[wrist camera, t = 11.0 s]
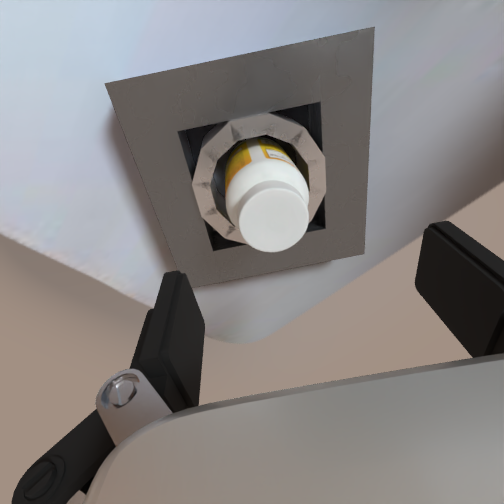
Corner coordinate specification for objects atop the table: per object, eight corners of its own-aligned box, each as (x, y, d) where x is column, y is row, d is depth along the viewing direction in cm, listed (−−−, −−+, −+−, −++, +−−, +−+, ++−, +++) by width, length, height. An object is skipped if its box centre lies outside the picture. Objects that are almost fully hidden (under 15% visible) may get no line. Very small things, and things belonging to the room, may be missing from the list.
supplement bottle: (284, 129, 23) (319, 164, 15) (292, 193, 26) (325, 251, 18) (216, 144, 23) (215, 188, 15) (232, 206, 26) (238, 270, 18)
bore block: (351, 32, 20) (378, 25, 16) (349, 234, 28) (366, 257, 25) (121, 81, 20) (101, 84, 17) (189, 266, 29) (185, 293, 25)
